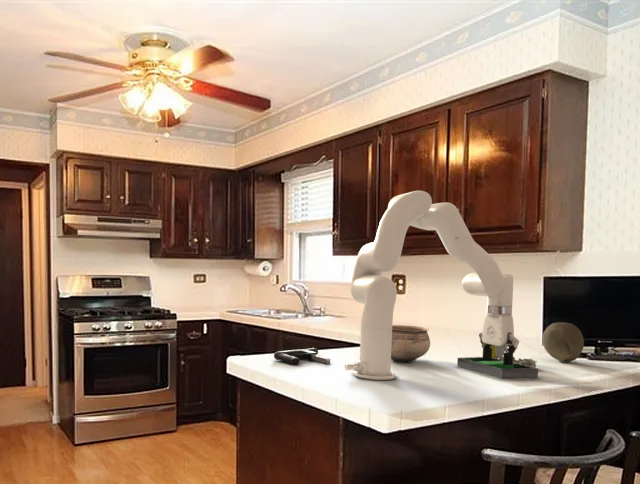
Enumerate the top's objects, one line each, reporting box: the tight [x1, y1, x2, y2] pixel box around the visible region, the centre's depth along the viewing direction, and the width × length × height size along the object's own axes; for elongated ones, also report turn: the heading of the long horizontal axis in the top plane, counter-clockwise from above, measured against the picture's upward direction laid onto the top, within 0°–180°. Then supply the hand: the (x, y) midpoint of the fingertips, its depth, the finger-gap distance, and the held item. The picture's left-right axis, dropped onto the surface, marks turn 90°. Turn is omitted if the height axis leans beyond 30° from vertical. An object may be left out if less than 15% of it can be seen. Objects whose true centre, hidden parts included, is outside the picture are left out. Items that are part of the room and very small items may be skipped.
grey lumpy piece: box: [513, 356, 537, 368], centre depth 189 cm, size 11×8×4 cm
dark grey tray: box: [456, 356, 539, 380], centre depth 179 cm, size 14×22×4 cm, turn 14°
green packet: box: [478, 361, 514, 369], centre depth 179 cm, size 10×5×3 cm, turn 104°
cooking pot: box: [391, 324, 431, 363], centre depth 199 cm, size 25×19×12 cm
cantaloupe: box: [542, 322, 585, 363], centre depth 206 cm, size 14×14×15 cm
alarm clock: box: [490, 345, 506, 360], centre depth 201 cm, size 12×7×15 cm, turn 139°
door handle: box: [273, 347, 331, 366], centre depth 193 cm, size 3×20×16 cm
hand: (497, 362), depth 179 cm, fingers open, 9 cm apart
